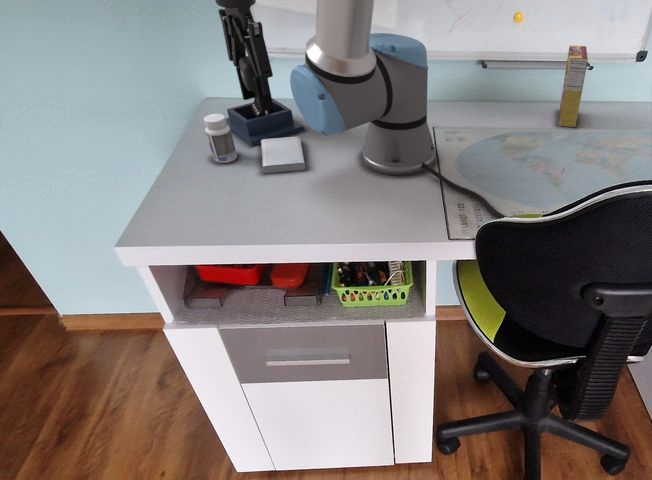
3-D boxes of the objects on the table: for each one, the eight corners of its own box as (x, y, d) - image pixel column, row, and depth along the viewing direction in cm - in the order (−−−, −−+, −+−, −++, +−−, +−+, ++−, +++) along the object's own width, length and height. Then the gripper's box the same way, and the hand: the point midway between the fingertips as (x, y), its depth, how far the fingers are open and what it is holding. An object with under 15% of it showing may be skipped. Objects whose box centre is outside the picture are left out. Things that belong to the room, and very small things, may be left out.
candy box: (557, 111, 135) (569, 44, 124) (574, 112, 135) (588, 45, 124) (557, 126, 129) (569, 56, 118) (575, 127, 128) (589, 58, 117)
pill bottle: (242, 155, 113) (231, 115, 107) (228, 165, 109) (217, 124, 103) (222, 151, 114) (211, 110, 108) (208, 160, 110) (196, 120, 104)
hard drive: (304, 162, 108) (299, 135, 116) (262, 166, 106) (260, 138, 115) (305, 170, 109) (300, 143, 118) (264, 174, 108) (262, 146, 116)
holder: (304, 130, 122) (301, 112, 119) (251, 146, 116) (247, 127, 113) (273, 110, 129) (269, 93, 126) (221, 124, 123) (217, 106, 120)
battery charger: (247, 108, 122) (235, 54, 113) (264, 106, 123) (253, 52, 115) (254, 121, 117) (242, 65, 109) (271, 119, 119) (261, 63, 110)
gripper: (276, -12, 99) (297, 114, 115) (225, -32, 109) (251, 86, 125) (238, -6, 95) (265, 123, 112) (189, -28, 105) (221, 93, 122)
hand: (258, 103), depth 118 cm, fingers closed on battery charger, 7 cm apart
